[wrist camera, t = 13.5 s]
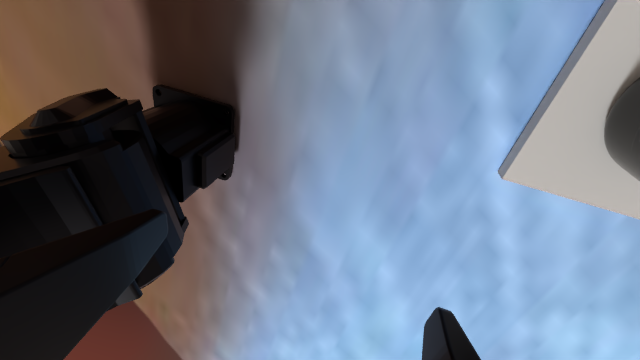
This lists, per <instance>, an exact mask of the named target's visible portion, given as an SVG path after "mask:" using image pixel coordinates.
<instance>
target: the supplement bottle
mask: <svg viewBox="0 0 640 360" xmlns="http://www.w3.org/2000/svg"><path fill="white" fill-rule="evenodd" d="M604 142H605V146H606V149H607V151H608V153H609V155H610V156H611V158H612V159H613V160H614V161H615V162H616V163H617V164H618V165H619V166H620V167H621V168H623V169H624V170H625V171H627V172H628V173H629V174H630V175H632V176H633V177H634V178H636V179H637V180H638V181H640V77H639V78H638V79H637V80H636V81H634V82H633V83H632V84H631V85H630V86H629V87H628V88H627V89H626V90H625V91H624V92H623V93H622V94H621V96H620V97H619V98H618V99H617V101H616V102H615V104H614V105H613V107H612V109H611V111H610V113H609V115H608V117H607V120H606V123H605V128H604Z"/></svg>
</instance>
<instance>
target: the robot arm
mask: <svg viewBox="0 0 640 360" xmlns="http://www.w3.org/2000/svg"><path fill="white" fill-rule="evenodd" d="M159 90H160V91H161V93H162V94H161V93H160V92H159ZM153 100H154V107H152V108H149V109H147V110H144V111H142V110H143V107H142V105H141V102H140V100H127V99H120V97H117V96H116V95H115V94H113V93H112V92H111V91H109V90H108V89H107V88H105V89H97V90H92V91H88V92H84V93H80V94H76V95H73V96H69V97H66V98H63V99H61V100H59V101H57V102H55V103H52V104H50V105H48V106H46V107H44V108H42V109H39V110H38V111H37V113H35V114H33V115H31V116H30V117H28V118H27V119H26V120H24V121H23V122H21V123H20V124H19V125H17V126H16V127H14V128H13V129H11V130H10V131H9V132H7V133H6V134H4V135H3V136H2V137H1V138H0V140H1V141H2V143H3V144H4V146H2V147H0V360H63V359H64V358H65V357H66V356H67V355H68V354H69V353H70V352H71V350H72V349H73V348H74V347H75V346H76V345H77V344H78V343H79V341H80V340H81V339H82V338H83V337H84V336H85V335H86V333H87V332H88V331H89V330H90V329H91V328H92V327H93V326H94V325H95V323H96V322H97V321H98V320H99V319H100V318H101V317H102V316H103V314H104V313H105V312H106V311H108V310H110V309H112V308H114V307H116V306H118V305H121V304H124V303H127V302H130V301H133V300H136V299H138V298H140V297H141V296H142V294H143V293H142V291H141V288H143V287H145V286H147V285H148V284H150V283H152V282H153V281H154V280H156V279H157V278H158V277H159V276H161V275H162V274H163V273H164V272H165V271H167V270H168V269H169V268H170V267H171V266H172V264H173V263H174V258H173V257H174V256H175V254H176V253H177V251H178V249H179V248H180V246H181V245H182V242H183V237H184V233H185V231H186V229H187V227H188V225H189V222H188V220H187V217H185V216H184V214H183V212H182V209H181V207H180V204H179V202H184V201H185V200H186V199H187V198H188V197H189V196H191V195H192V194H193V193H194V192H195V191H196V190H198V189H199V188H202V189H205V188H206V187H208V186H209V185H210V184H211V183H212V182H214V181H215V180H216V179H217V178H219V179H222V180H228V179H229V178H230V177H231V173H232V165H233V164H234V152H235V135H234V134H233V132H234V109H233V107H232V106H230V105H228V104H225V103H222V102H218V101H215V100H211V99H208V98H205V97H201V96H198V95H194V94H191V93H188V92H184V91H181V90H178V89H174V88H171V87H167V86H164V85H156V86H154V87H153ZM225 109H226V110H227V111H228V112H229V114H227V113H226V112H225ZM224 173H225V174H226V175H224ZM422 360H481V359H480V357H479V356H478V354H477V352H476V351H475V349H474V347H473V346H472V344H471V342H470V341H469V339H468V338H467V336H466V334H465V333H464V331H463V329H462V328H461V326H460V324H459V323H458V321H457V319H456V318H455V316H454V314H453V313H452V312H451V311H449V310H446V309H443V308H440V307H437V308H436V309H435V310H434V311H433V313H432V314H431V316H430V317H429V318H428V320H427V321H426V323H425V326H424V336H423V350H422Z"/></svg>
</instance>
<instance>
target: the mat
mask: <svg viewBox="0 0 640 360" xmlns="http://www.w3.org/2000/svg"><path fill="white" fill-rule="evenodd" d="M639 77H640V0H605V1H604V3H603V5H602V6H601V8H600V9H599V11H598V12H597V14H596V16H595V17H594V19H593V20H592V22H591V24H590V25H589V27H588V28H587V30H586V32H585V33H584V35H583V36H582V38H581V40H580V41H579V43H578V44H577V46H576V48H575V49H574V51H573V52H572V54H571V56H570V57H569V59H568V60H567V62H566V63H565V65H564V67H563V68H562V70H561V71H560V73H559V75H558V76H557V78H556V79H555V81H554V83H553V84H552V86H551V87H550V89H549V91H548V92H547V94H546V95H545V97H544V99H543V100H542V102H541V103H540V105H539V107H538V108H537V110H536V111H535V113H534V114H533V116H532V118H531V119H530V121H529V122H528V124H527V126H526V127H525V129H524V130H523V132H522V134H521V135H520V137H519V138H518V140H517V142H516V143H515V145H514V146H513V148H512V150H511V151H510V153H509V154H508V156H507V158H506V159H505V161H504V162H503V164H502V166H501V167H500V169H499V170H498V173H499V175H500V177H501V178H502V179H504V180H507V181H511V182H514V183H517V184H521V185H524V186H528V187H531V188H534V189H538V190H541V191H545V192H548V193H551V194H555V195H558V196H562V197H565V198H568V199H572V200H575V201H579V202H582V203H586V204H589V205H592V206H596V207H599V208H603V209H606V210H609V211H613V212H616V213H620V214H623V215H626V216H630V217H633V218H637V219H640V181H638V180H637V179H636V178H634V177H633V176H632V175H630V174H629V173H628V172H627V171H625V170H624V169H623V168H621V167H620V166H619V165H618V164H617V163H616V162H615V161H614V160H613V159H612V158H611V156H610V155H609V153H608V151H607V149H606V146H605V142H604V128H605V123H606V120H607V117H608V115H609V113H610V111H611V109H612V107H613V105H614V104H615V102H616V101H617V99H618V98H619V97H620V96H621V94H622V93H623V92H624V91H625V90H626V89H627V88H628V87H629V86H630V85H631V84H632V83H633V82H634V81H636V80H637V79H638V78H639Z"/></svg>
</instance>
